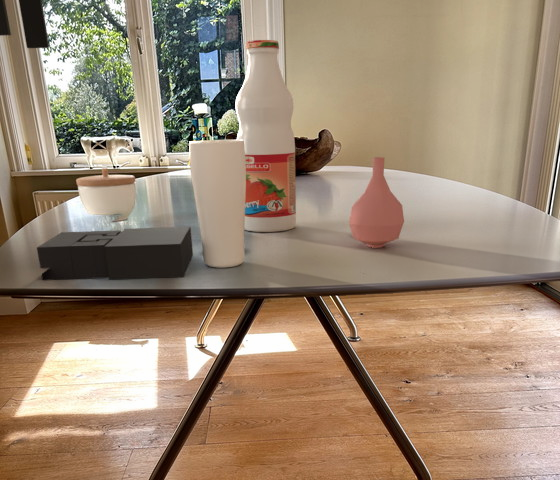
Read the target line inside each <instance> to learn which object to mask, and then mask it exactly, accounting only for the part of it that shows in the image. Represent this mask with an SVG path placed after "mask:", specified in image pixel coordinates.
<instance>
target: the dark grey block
mask: <svg viewBox="0 0 560 480" xmlns="http://www.w3.org/2000/svg"><path fill="white" fill-rule="evenodd" d="M121 232H122V230H120V229H119V230H94V231H93V230H92V231H91V230H89V231H63V232H60V233H58V234H57V235H55V236H53V237H51V238H50V239H48V240H47V241H45V242H43V243H41V244H40V245H38V246H36V252H37V257H38V264H39V268H40V269H46V270H45V271H43V272H42V273H41V278H42V281H54V280H56V281H57V280H58V281H59V280H82V279H85V280H87V279H109V276H108V270H107V263H106V256H105V249H104V246H106V245H107V244H108V243H109V242H110V241H111V240H110V239H107V240H99V241H92V242H79V241H81V240H82V239H83V238H85V237H86V236H87V235H103V236H117V235H118V234H119V233H121Z"/></svg>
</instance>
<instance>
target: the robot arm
mask: <svg viewBox="0 0 560 480" xmlns="http://www.w3.org/2000/svg"><path fill="white" fill-rule="evenodd" d="M18 4H19V9H20V15H21V21H22V26H23V33H24V39H25V43H26V45H25V46H26V49H50V44H49V36H48V30H47V25H46V18H45V12H44V6H43V0H18ZM1 36H12V33H11V27H10V22H9V16H8V10H7V3H6V0H0V37H1Z"/></svg>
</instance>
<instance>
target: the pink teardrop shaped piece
mask: <svg viewBox="0 0 560 480" xmlns="http://www.w3.org/2000/svg"><path fill="white" fill-rule="evenodd" d="M384 174H385V157H384V156H382V157H381V156H380V157H379V156H378V157H372V176H371V178H370V180H369V182H368V184H367V186H366V188H365V190H364V192H362V193H361V195H360V196H359V197H358V199H357V200H356V201H355V202H354V203H353V204H352V206H351V210H350V215H349V220H348V224H349V228H350V232H351V235H352V238H353V239H354V240H355V241H359V242H361V243H363V244H366V245H367V248H371V247H372V248H373V249H379V248H384V247H385V245H386V244H388V243H391V242H393V241H395V240H398V239H399V238H400V235H401V232H402V229H403V226H404V223H405V218H404V217H405V216H404V208H403V204H402V203H401V202H400V201H399V200H398V198H397V197H396V196H395V194H394V193H393V192H392V191H391V189H390V186H389V184H388V181H387V180H386V178H385V175H384ZM372 248H371V249H372Z"/></svg>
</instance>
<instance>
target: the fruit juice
mask: <svg viewBox="0 0 560 480" xmlns="http://www.w3.org/2000/svg"><path fill="white" fill-rule="evenodd" d="M279 52H280V45H279V41H278V40H276V39H256V40H249V41H246V54H247V55H248V65H247V70H246V74H245V77H244V81H243V84H242V87H241V88H240V90H239V91H238V94H237V96H236V99H235V111H236V116H237V119H238V123H239V130H238V133H237V137H236V140H243V141H244V148H245V159H246V198H245V228H244V231H248V232H254V233H275V232H276V233H277V232H284V231H289V230H292V229H294V228H295V227H296V225H297V222H296V221H297V197H296V196H297V195H296V194H297V193H296V143H295V142H296V141H295V134H294V130H293V129H292V125H291V124H292V117H293V113H294V99H293V95H292V93H291V91H290V90H289V89H288V87H287V85H286V83H285V81H284V77H283V75H282V72H281V69H280V65H279V60H278V54H279Z"/></svg>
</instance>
